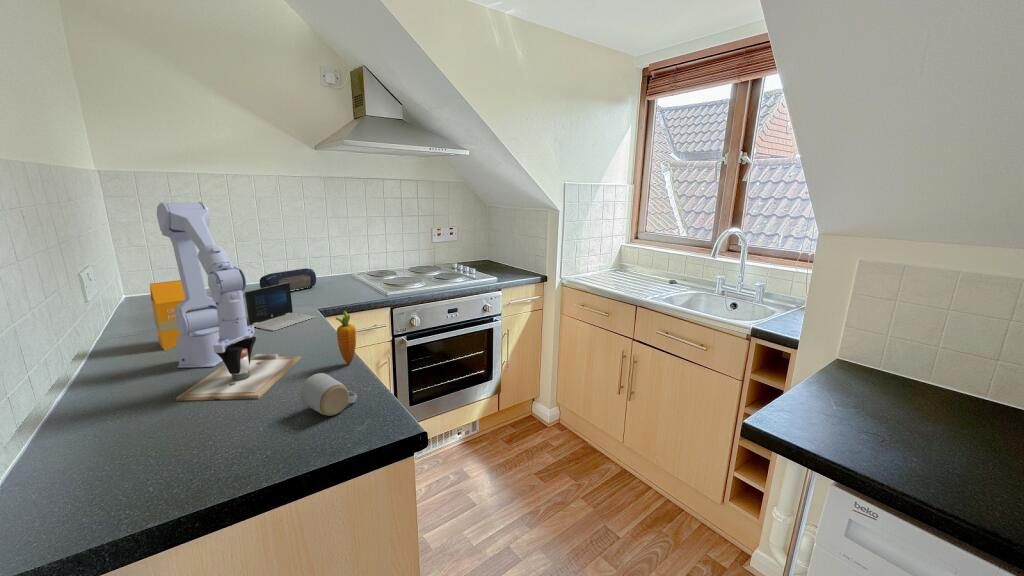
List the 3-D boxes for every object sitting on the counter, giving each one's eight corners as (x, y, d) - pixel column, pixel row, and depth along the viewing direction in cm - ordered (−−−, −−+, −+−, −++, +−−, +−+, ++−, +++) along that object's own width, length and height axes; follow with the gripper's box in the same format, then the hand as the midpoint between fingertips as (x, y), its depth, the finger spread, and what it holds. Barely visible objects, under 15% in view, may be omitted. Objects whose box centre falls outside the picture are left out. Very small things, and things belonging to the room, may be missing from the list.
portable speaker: (269, 298, 190) (266, 276, 188) (258, 295, 196) (255, 273, 193) (321, 288, 210) (319, 268, 208) (310, 285, 216) (308, 266, 214)
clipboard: (177, 400, 97) (175, 393, 97) (235, 360, 120) (234, 354, 120) (258, 398, 98) (257, 391, 98) (300, 358, 122) (300, 352, 121)
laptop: (273, 332, 145) (269, 295, 142) (248, 327, 150) (243, 291, 147) (316, 318, 161) (312, 285, 158) (292, 314, 166) (288, 282, 163)
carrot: (352, 368, 115) (347, 315, 112) (335, 367, 116) (330, 314, 113) (361, 361, 120) (358, 310, 117) (346, 360, 121) (341, 309, 118)
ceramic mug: (322, 423, 88) (319, 389, 86) (301, 411, 93) (297, 379, 91) (365, 404, 97) (363, 372, 95) (344, 394, 101) (342, 364, 100)
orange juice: (198, 343, 134) (188, 281, 129) (163, 350, 127) (151, 285, 123) (193, 337, 139) (183, 277, 134) (158, 344, 133) (147, 281, 128)
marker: (228, 380, 105) (224, 353, 103) (237, 373, 109) (233, 347, 107) (245, 379, 105) (241, 353, 104) (253, 372, 109) (250, 347, 108)
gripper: (232, 326, 97) (240, 381, 100) (263, 309, 111) (270, 357, 114) (200, 327, 96) (209, 382, 99) (235, 309, 110) (242, 358, 113)
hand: (239, 369), depth 107 cm, fingers closed on marker, 4 cm apart
